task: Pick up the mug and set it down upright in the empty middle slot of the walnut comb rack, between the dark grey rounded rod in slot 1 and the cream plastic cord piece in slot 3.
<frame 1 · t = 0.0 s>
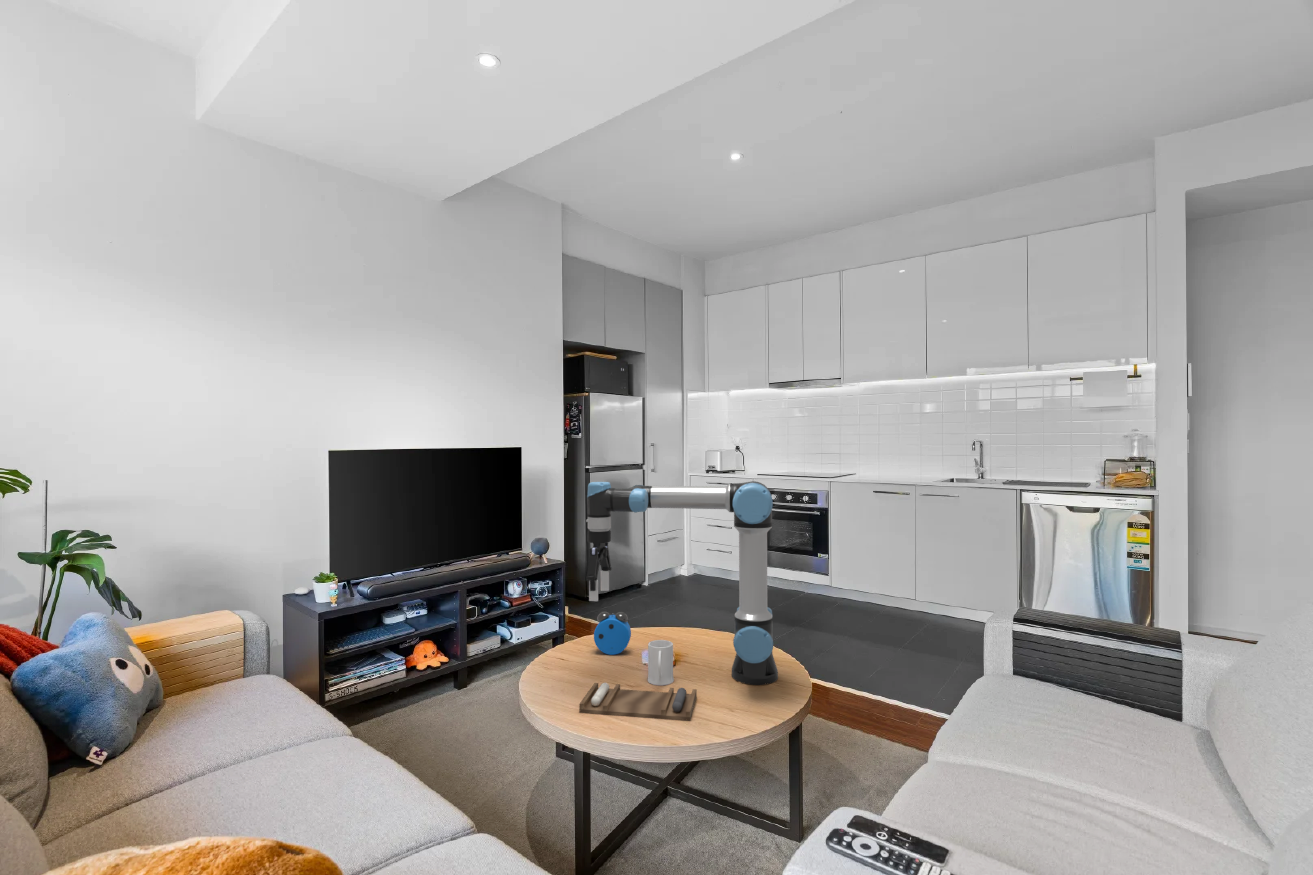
hand: (599, 595, 202), 28 cm above the table, fingers open, 13 cm apart
dark grey rounded rod: (679, 704, 182), point 1 cm above the table, touching comb rack
comb rack: (639, 704, 184), on the table
mug: (659, 683, 201), on the table
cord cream: (600, 698, 186), point 1 cm above the table, touching comb rack
alarm clock: (612, 653, 230), on the table
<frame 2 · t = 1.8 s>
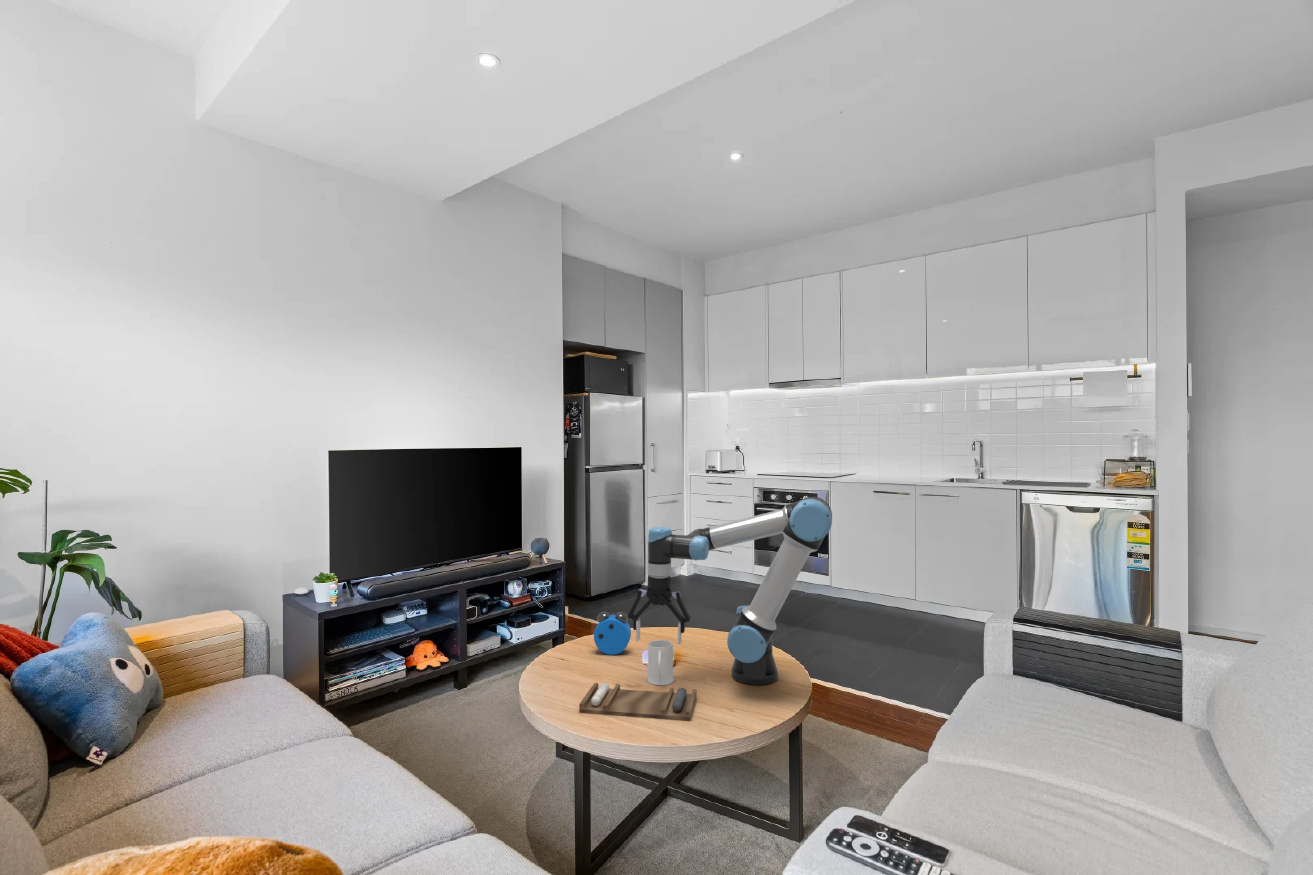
hand: (658, 641, 202), 13 cm above the table, fingers open, 13 cm apart
nothing on the table moved.
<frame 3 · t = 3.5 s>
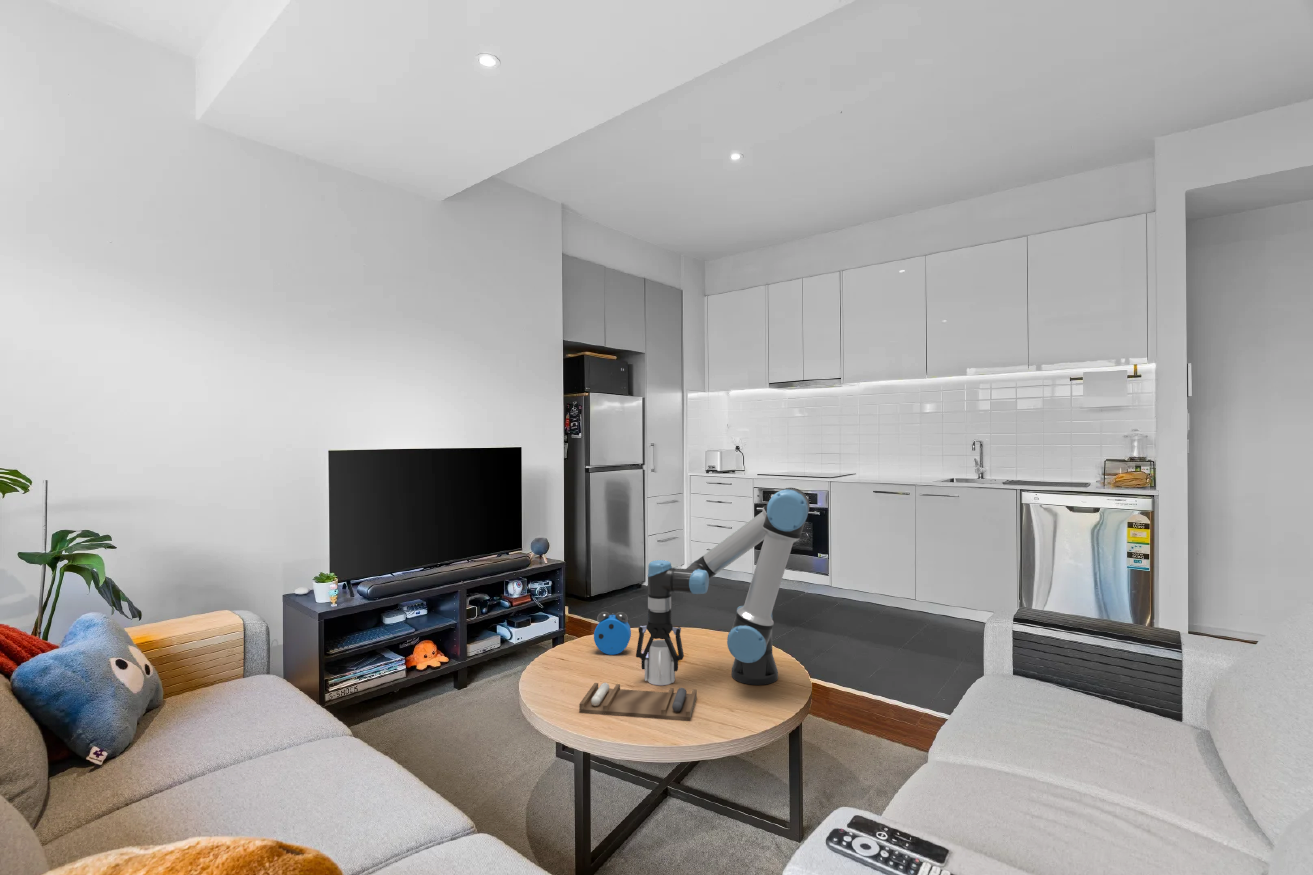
hand: (659, 679, 201), 1 cm above the table, fingers closed on mug, 8 cm apart
mug: (660, 682, 201), on the table, touching gripper
everything else where it was.
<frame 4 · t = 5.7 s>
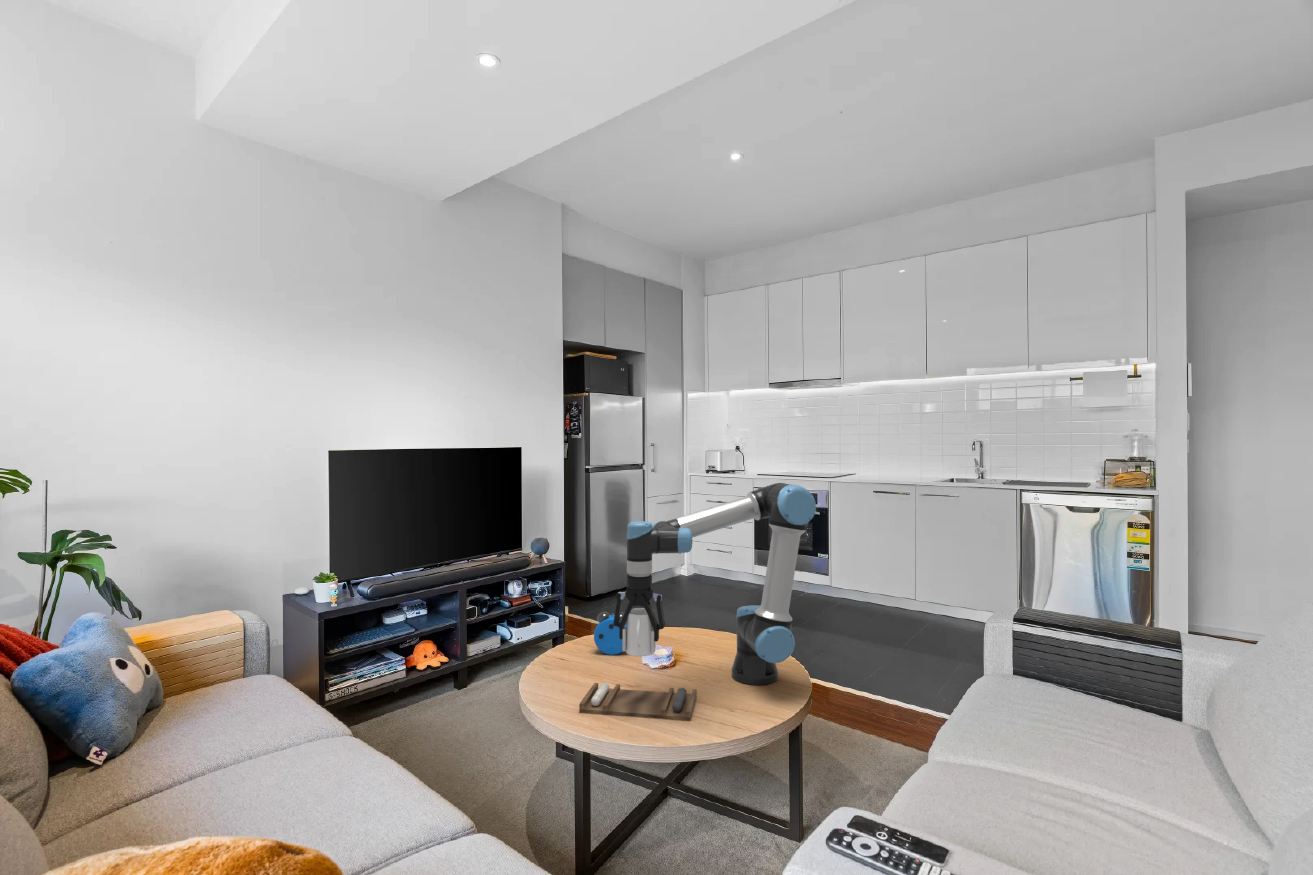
hand: (639, 650, 185), 16 cm above the table, fingers closed on mug, 8 cm apart
mug: (639, 654, 185), point 15 cm above the table, touching gripper
everything else where it was.
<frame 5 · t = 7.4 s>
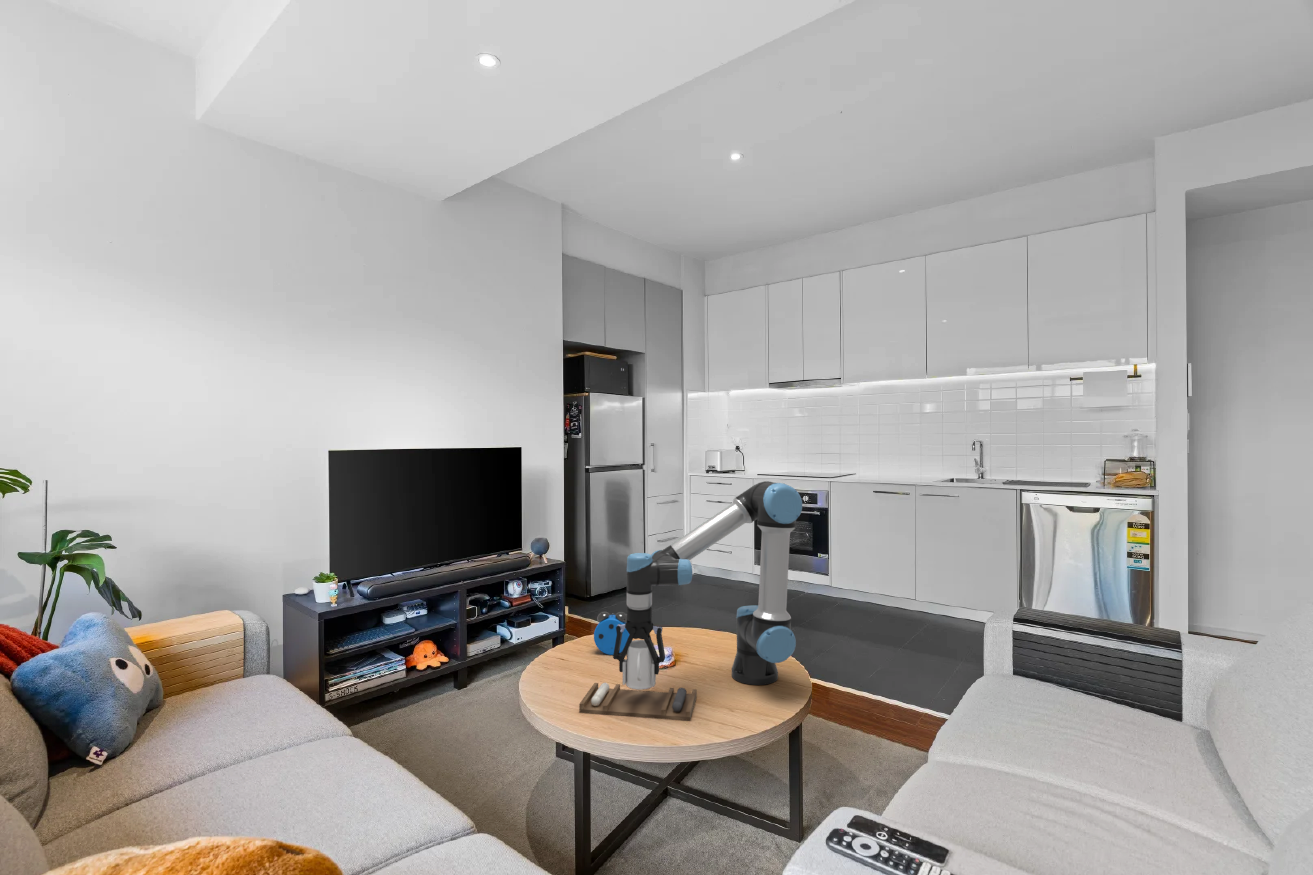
hand: (639, 683, 184), 6 cm above the table, fingers closed on mug, 8 cm apart
mug: (639, 687, 184), point 5 cm above the table, touching gripper
everything else where it was.
when the fingers open (4 cm above the table, at t = 8.4 s): mug drops 2 cm, resting on comb rack.
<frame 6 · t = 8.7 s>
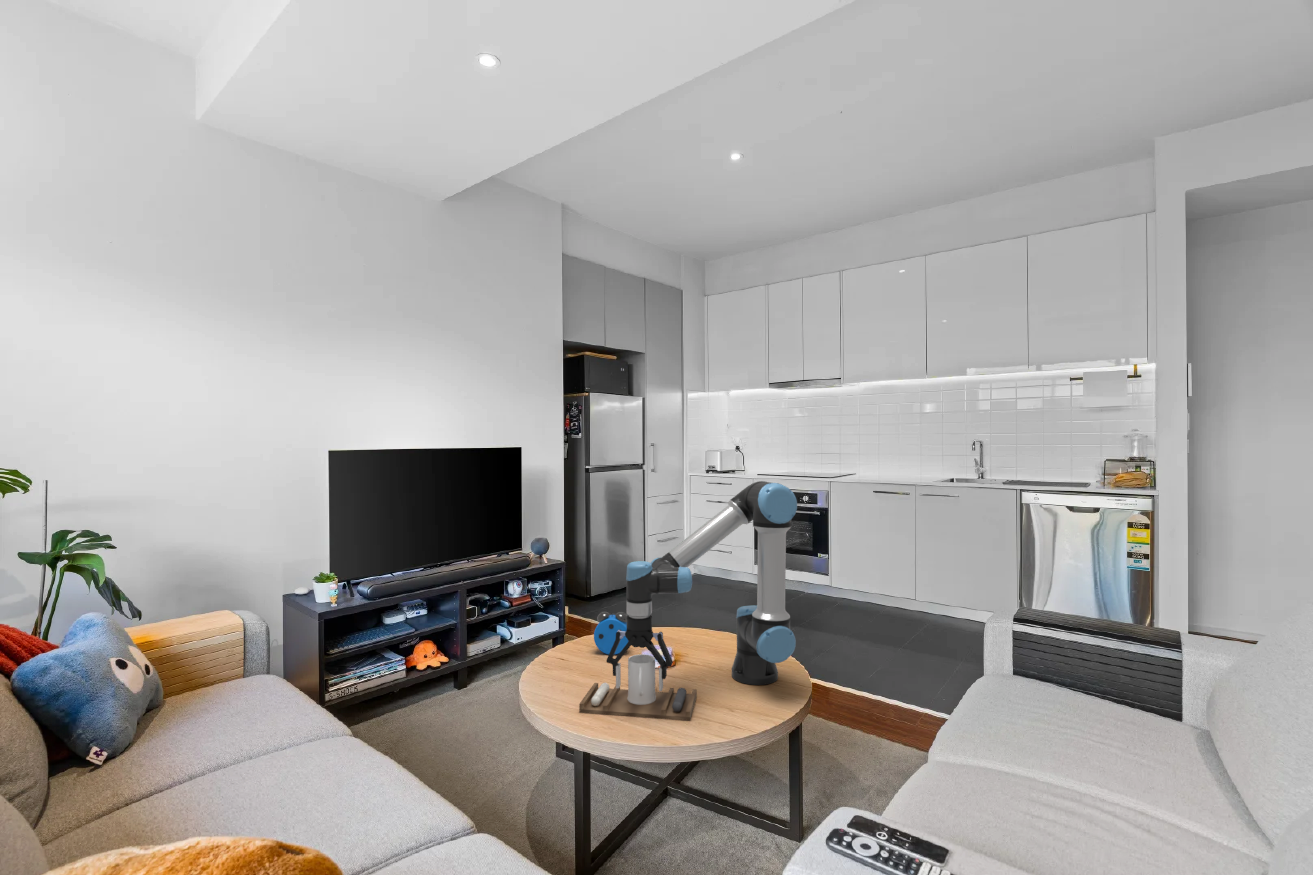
hand: (639, 688, 184), 5 cm above the table, fingers open, 12 cm apart
mug: (640, 701, 184), point 1 cm above the table, touching comb rack
everything else where it was.
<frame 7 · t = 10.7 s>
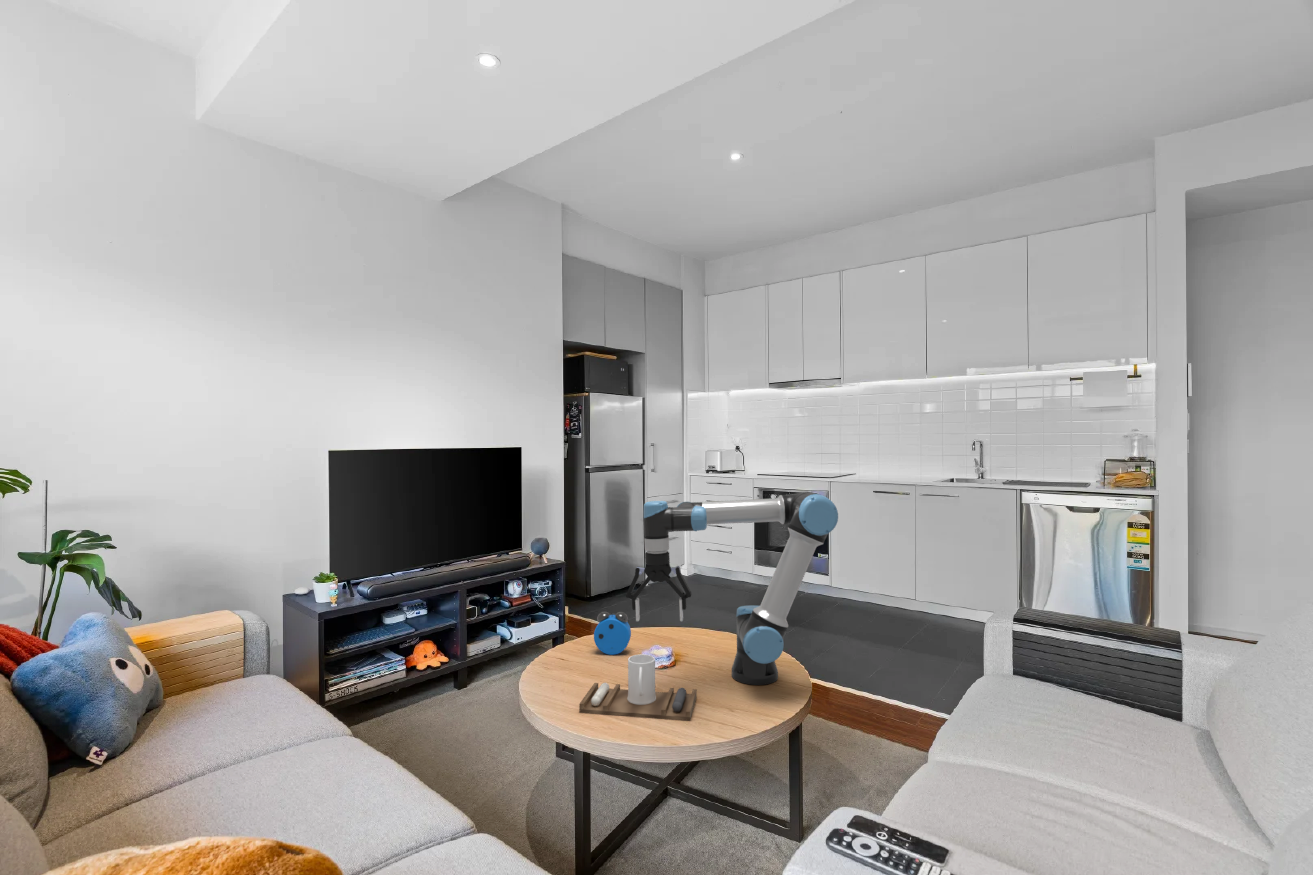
hand: (659, 620, 193), 22 cm above the table, fingers open, 13 cm apart
nothing on the table moved.
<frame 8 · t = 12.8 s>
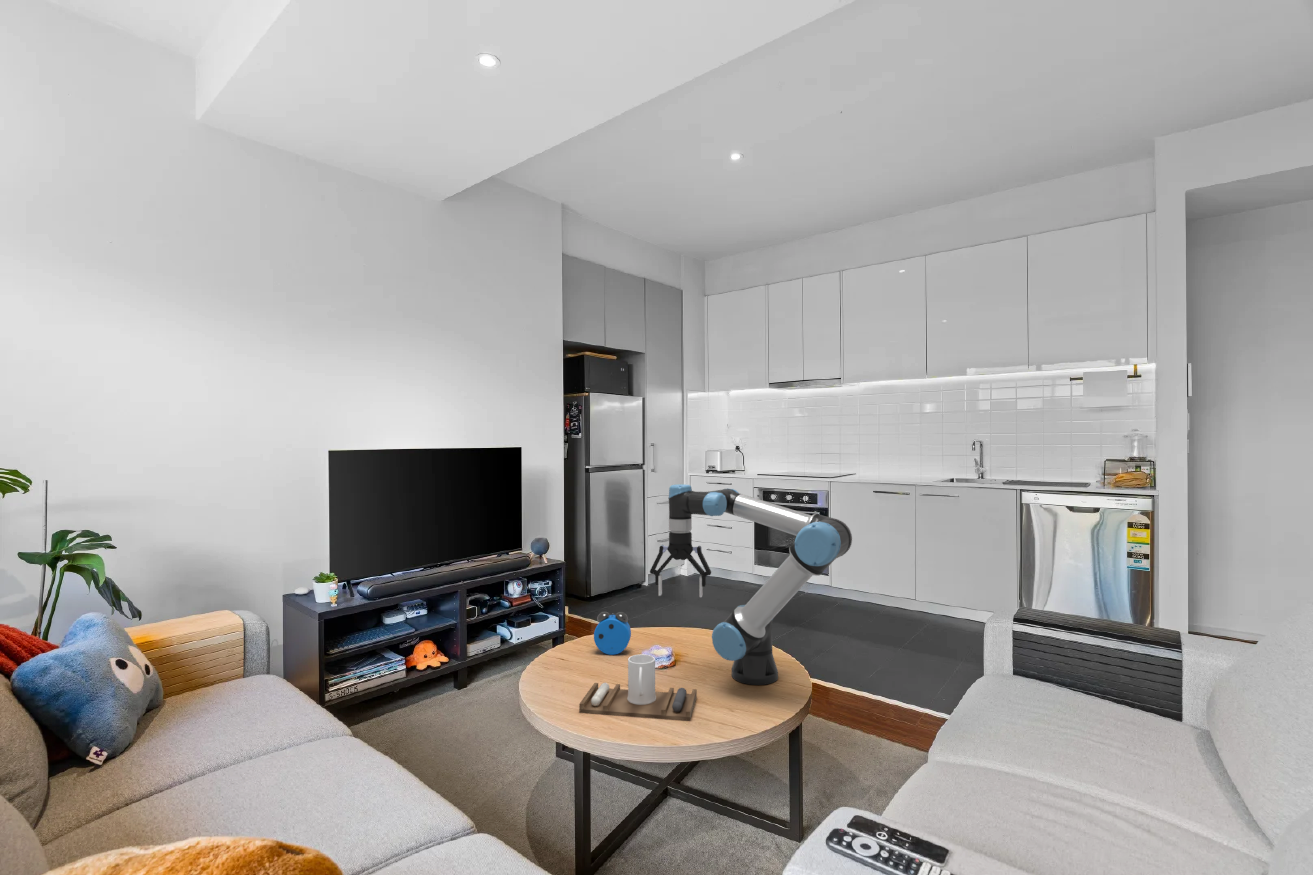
hand: (680, 595, 206), 27 cm above the table, fingers open, 13 cm apart
nothing on the table moved.
at the end: mug inside the target area on the comb rack (0.4 cm from its centre), point 0.8 cm above the comb rack's base; mug tilted 0°; the gripper is holding nothing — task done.
